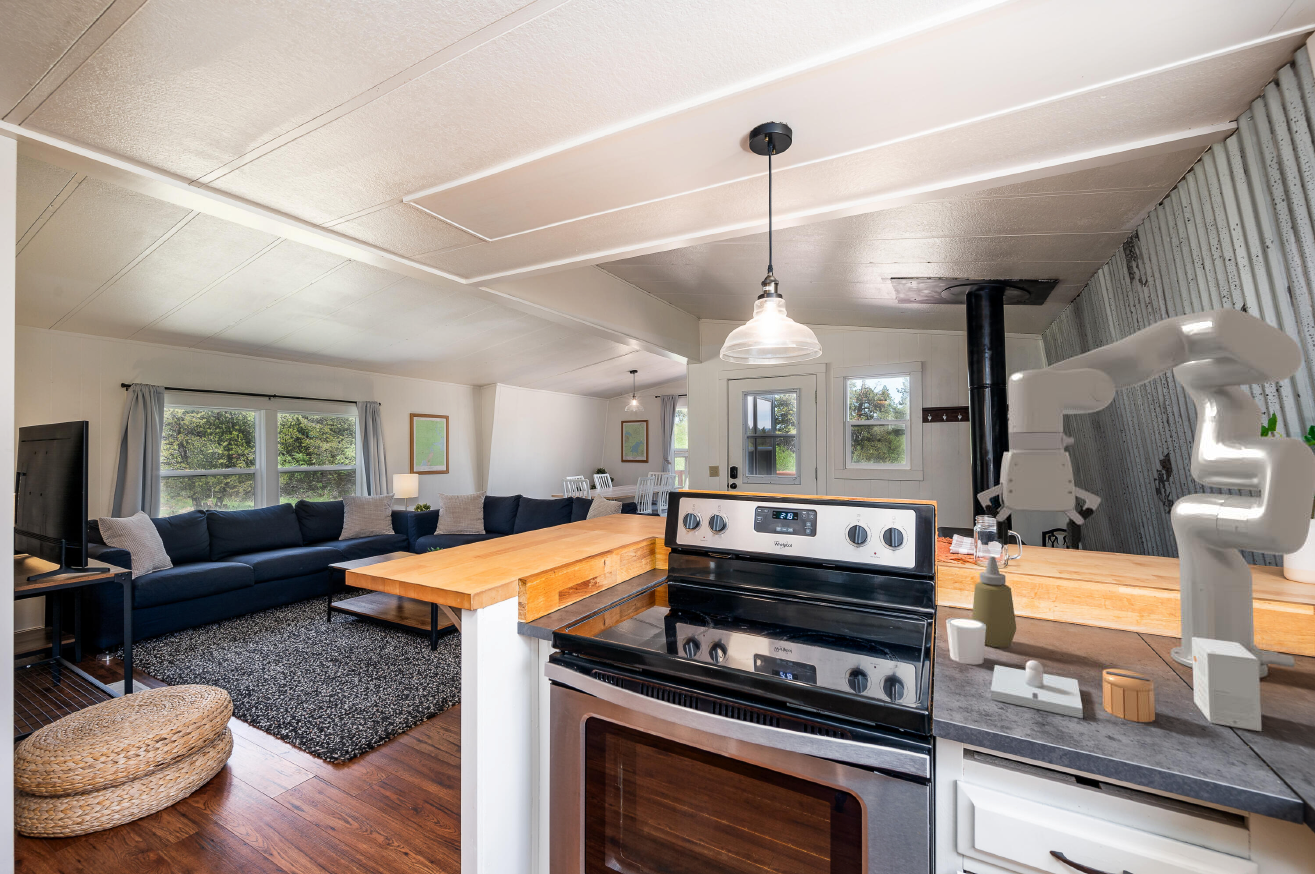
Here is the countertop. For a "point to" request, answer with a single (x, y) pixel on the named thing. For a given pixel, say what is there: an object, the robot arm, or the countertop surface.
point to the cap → (1128, 695)
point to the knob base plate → (1036, 689)
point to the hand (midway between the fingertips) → (1037, 545)
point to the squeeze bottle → (994, 606)
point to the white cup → (966, 640)
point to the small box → (1226, 683)
